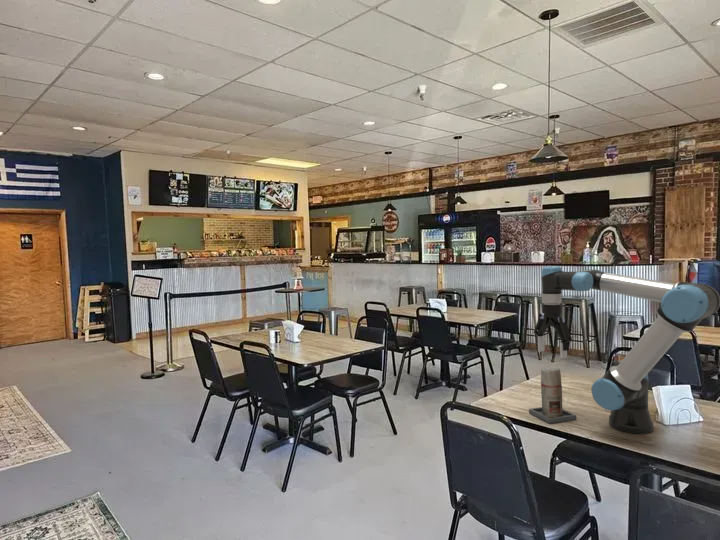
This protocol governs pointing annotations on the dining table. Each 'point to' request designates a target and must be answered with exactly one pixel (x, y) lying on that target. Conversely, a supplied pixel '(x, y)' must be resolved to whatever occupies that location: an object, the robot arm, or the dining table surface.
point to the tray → (565, 418)
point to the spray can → (551, 392)
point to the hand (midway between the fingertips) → (552, 354)
